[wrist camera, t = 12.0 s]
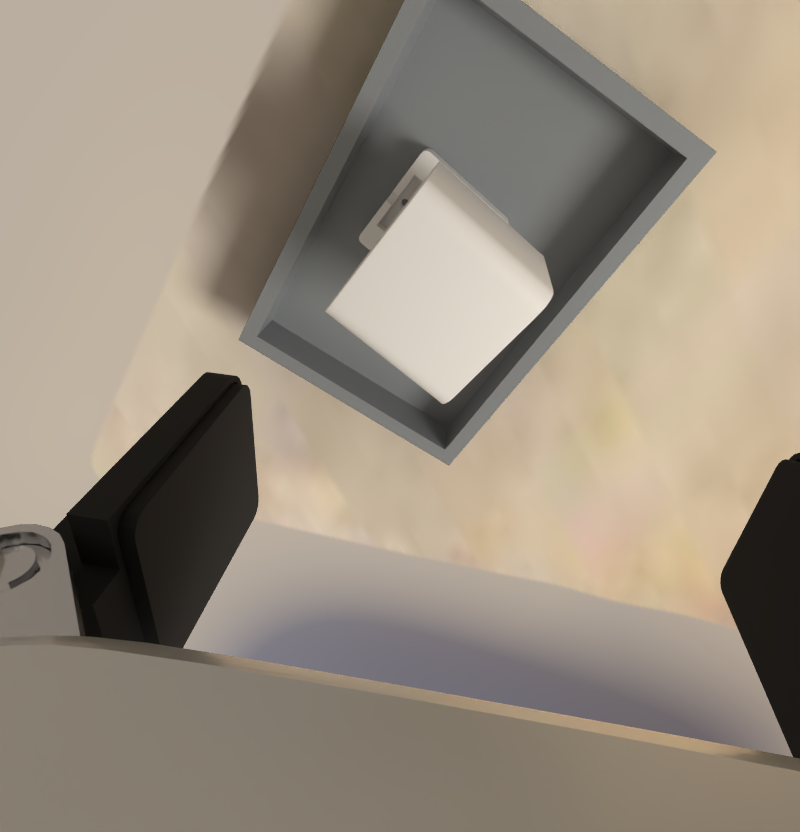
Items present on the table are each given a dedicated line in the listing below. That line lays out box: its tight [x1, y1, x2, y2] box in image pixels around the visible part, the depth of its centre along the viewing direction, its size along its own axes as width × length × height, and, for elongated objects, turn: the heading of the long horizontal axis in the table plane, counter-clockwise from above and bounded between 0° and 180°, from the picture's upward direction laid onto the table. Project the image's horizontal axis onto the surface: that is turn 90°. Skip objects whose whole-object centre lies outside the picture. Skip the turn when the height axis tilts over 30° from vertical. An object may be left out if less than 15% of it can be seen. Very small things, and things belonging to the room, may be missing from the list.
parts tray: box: [239, 0, 716, 465], centre depth 29 cm, size 20×14×4 cm
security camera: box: [325, 148, 553, 404], centre depth 25 cm, size 6×7×10 cm
